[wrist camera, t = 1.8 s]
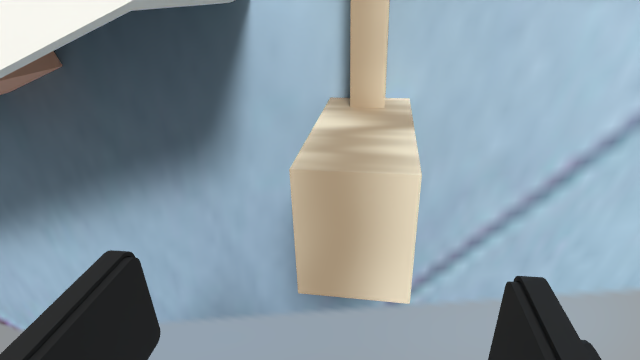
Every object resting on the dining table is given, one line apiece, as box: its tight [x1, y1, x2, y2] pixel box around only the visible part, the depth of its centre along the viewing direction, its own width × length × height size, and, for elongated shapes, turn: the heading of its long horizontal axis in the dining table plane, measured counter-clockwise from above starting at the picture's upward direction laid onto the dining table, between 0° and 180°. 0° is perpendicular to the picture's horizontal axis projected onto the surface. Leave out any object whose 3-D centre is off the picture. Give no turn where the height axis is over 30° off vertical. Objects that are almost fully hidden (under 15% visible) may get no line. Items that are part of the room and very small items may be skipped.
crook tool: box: [289, 0, 422, 304], centre depth 14 cm, size 7×17×9 cm, turn 2°
